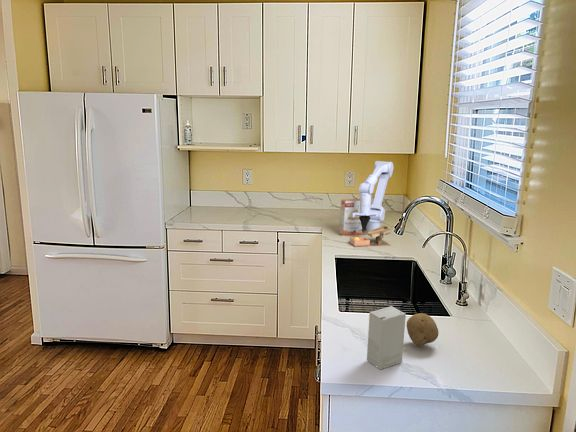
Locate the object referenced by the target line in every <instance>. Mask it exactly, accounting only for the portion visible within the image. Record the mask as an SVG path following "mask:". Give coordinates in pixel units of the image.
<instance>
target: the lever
mask: <svg viewBox="0 0 576 432" xmlns="http://www.w3.org/2000/svg"><path fill="white" fill-rule="evenodd" d="M361 231H362V232H363V233H365V234H367V235H366V236H370V237H371V238H372V239H373V238H376V237H377V236H380V232H383V233H384V236H385V235H386V236H388V235H390V234H391V229H390V227H389V226H387V225H385V224H384V225H383V226H381V227H379V228H376V229H373V230H370V231H368V232H367V230H366V229H365V230H363V229H362V230H361Z"/></svg>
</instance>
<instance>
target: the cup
mask: <svg viewBox="0 0 576 432" xmlns="http://www.w3.org/2000/svg"><path fill="white" fill-rule="evenodd" d="M355 237H356V236H355ZM355 237H349V242H350V244H349V245H351V244H352V245H353V246H369V247H371V246H370V242H371V240H370V239H368V238H367V237H365V236H360V237H359V236H357V237H358V238H359V239H360V240H357V241H355V240H354V238H355ZM352 245H351V246H352ZM353 246H352V247H353Z"/></svg>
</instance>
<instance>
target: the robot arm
mask: <svg viewBox="0 0 576 432" xmlns="http://www.w3.org/2000/svg"><path fill="white" fill-rule="evenodd" d="M393 171H394V163H393V161H382V160H381V161H380V160H375V162H374V165H373V171H372V173H371V174H369V175H368V176H367V177H366V179H365V181H364V182H362V183H359V188H358V192H359V199H360V212H357V213H352V217H359V219H360V221H361V225H362V229H363V230H365V229H366V230H367V232H368V231H370V230H373V229H376V228H379V227H382V226H381V225H382V222H383V221H384V220H385V214H386V210H385V208H384V207H383V206H382V204H383V201H384V197H385V193H386V190H387V185H388V181H389V179H390V178H392V176H393V173H394V172H393ZM376 184H377V186H376ZM375 186H376V191H375V195H374V198H373V202H372V194H373V193H374V189H375ZM364 236H368V235H367V234H365V233H364Z"/></svg>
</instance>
